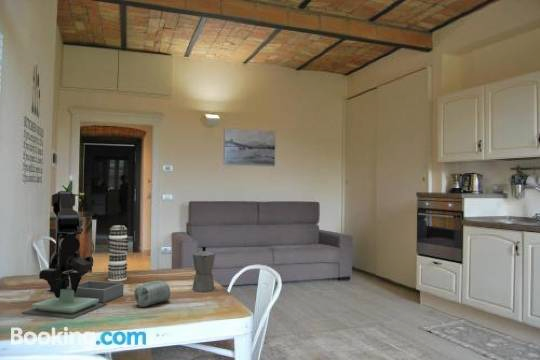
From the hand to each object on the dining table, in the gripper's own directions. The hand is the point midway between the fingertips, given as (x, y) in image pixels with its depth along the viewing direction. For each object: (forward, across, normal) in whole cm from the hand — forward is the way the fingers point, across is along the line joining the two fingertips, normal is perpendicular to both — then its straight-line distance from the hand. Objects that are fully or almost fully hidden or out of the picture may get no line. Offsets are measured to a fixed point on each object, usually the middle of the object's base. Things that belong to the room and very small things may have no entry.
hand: (66, 295), depth 142 cm
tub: (+5, +16, 0) cm, 16 cm away
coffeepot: (+5, +42, -33) cm, 53 cm away
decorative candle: (+5, +48, +13) cm, 50 cm away
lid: (+4, 0, 0) cm, 4 cm away
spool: (+5, +14, -25) cm, 29 cm away
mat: (+5, 0, 0) cm, 5 cm away
